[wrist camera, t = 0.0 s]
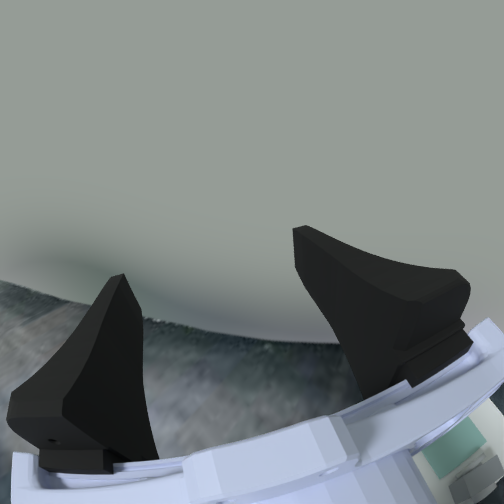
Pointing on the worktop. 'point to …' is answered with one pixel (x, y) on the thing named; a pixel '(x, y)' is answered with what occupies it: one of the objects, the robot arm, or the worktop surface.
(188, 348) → the worktop surface
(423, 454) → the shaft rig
